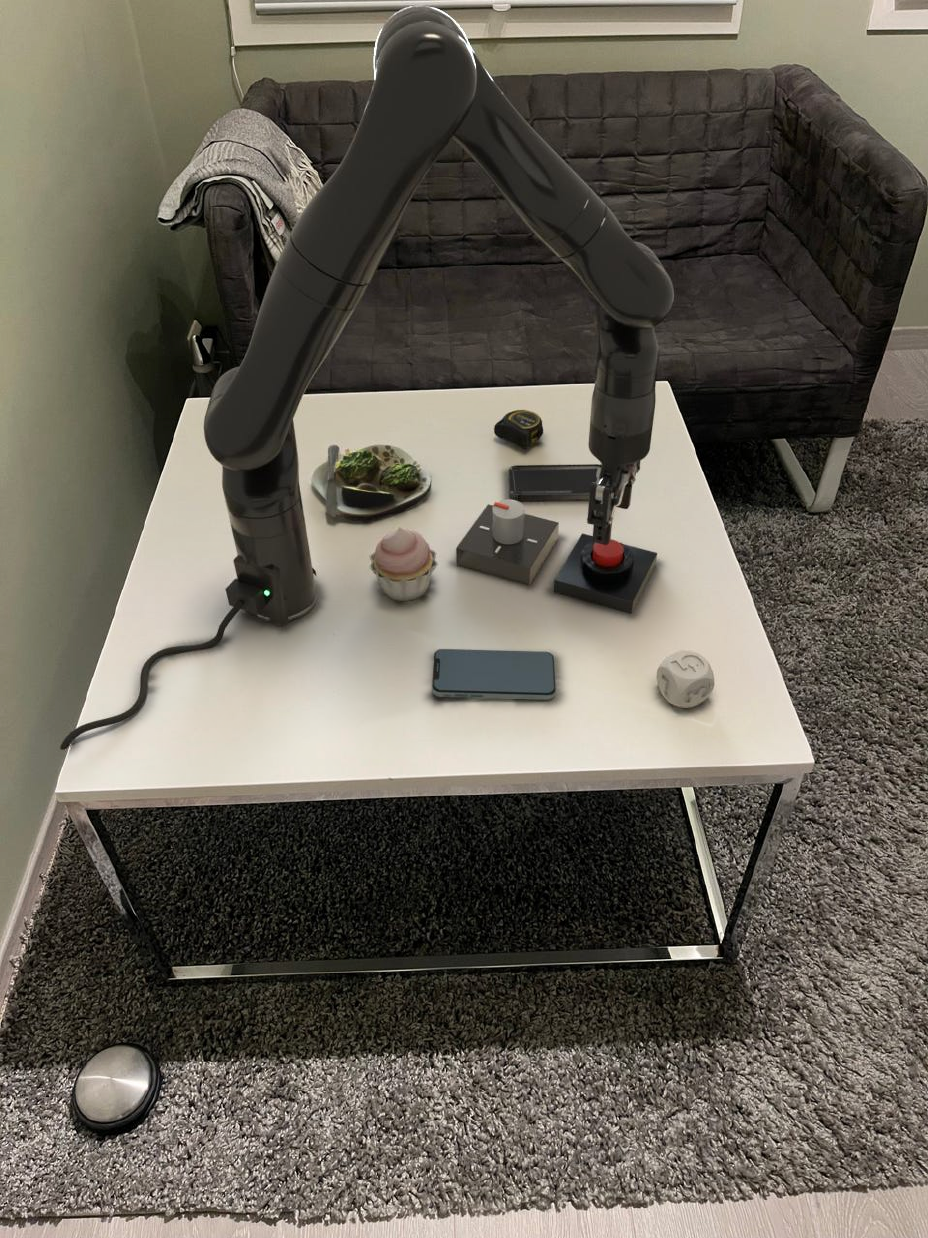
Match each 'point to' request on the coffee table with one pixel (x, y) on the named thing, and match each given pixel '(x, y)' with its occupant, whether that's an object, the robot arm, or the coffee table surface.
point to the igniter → (605, 576)
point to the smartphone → (493, 674)
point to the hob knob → (508, 521)
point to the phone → (551, 482)
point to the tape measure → (520, 428)
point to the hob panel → (507, 548)
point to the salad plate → (370, 482)
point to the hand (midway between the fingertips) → (611, 524)
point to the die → (685, 678)
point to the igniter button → (608, 554)
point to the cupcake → (403, 564)
